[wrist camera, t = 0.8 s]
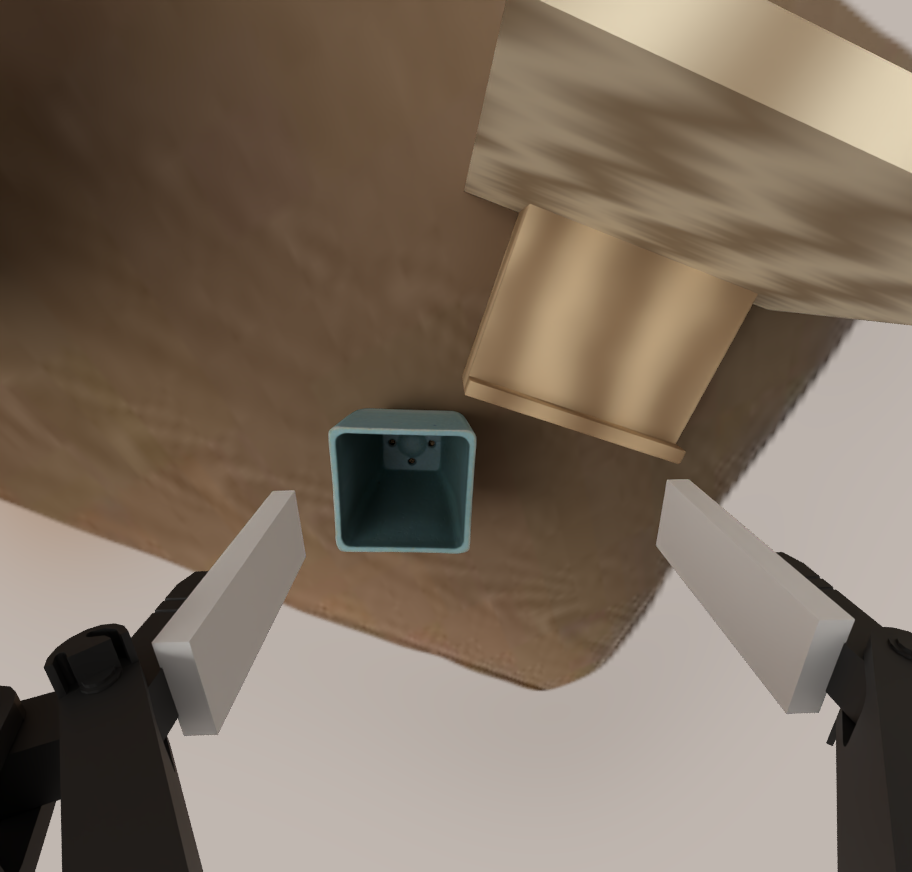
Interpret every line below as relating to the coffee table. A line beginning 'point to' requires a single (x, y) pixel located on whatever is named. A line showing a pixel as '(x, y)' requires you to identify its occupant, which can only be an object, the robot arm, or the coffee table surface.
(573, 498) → the coffee table surface
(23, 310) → the coffee table surface
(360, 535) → the flower pot
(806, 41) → the board
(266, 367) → the coffee table surface
